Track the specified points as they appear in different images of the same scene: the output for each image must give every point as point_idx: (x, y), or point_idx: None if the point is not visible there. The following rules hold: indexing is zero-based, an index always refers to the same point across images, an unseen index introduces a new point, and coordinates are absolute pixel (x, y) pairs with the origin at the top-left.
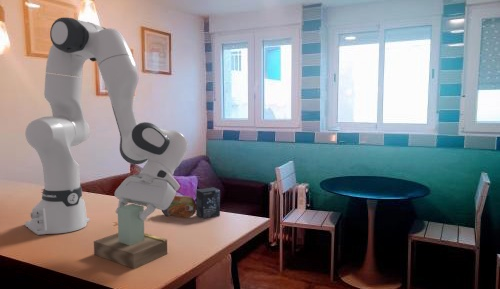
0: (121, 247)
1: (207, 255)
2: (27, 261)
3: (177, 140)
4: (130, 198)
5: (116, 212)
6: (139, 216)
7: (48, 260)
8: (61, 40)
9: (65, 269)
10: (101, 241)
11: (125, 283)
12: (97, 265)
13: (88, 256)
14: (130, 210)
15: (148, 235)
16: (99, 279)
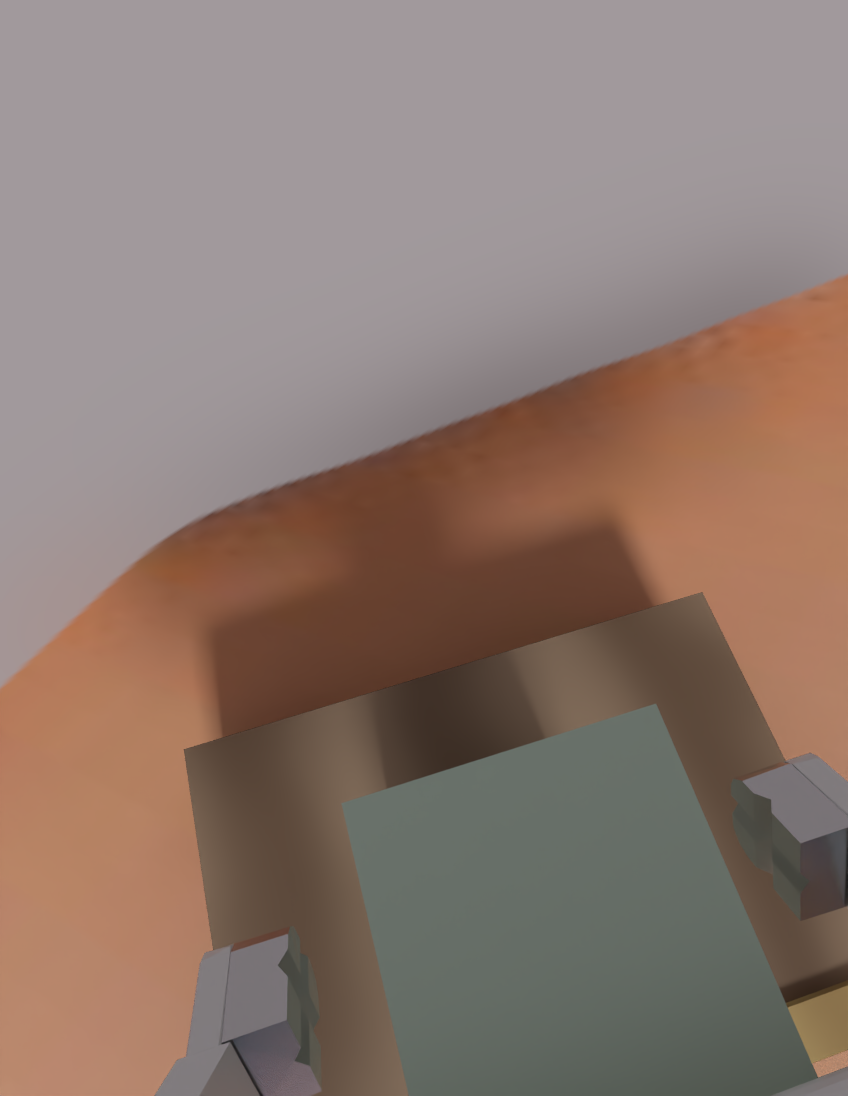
0: (400, 726)
1: None
2: (763, 306)
3: None
4: (827, 1075)
5: (786, 763)
6: (247, 949)
7: (717, 387)
8: None
9: (515, 429)
10: (654, 639)
11: (79, 629)
12: (453, 585)
13: (651, 585)
14: (348, 829)
15: None
16: (245, 532)
